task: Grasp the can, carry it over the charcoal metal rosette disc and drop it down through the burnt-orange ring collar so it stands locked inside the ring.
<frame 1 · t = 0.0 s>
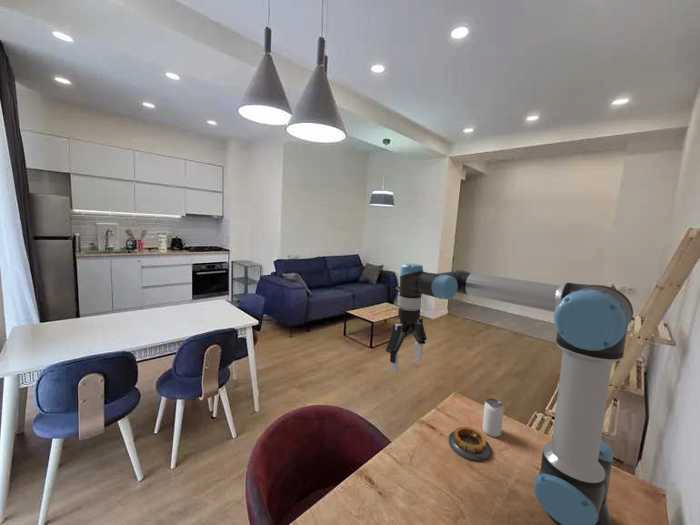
hand: (406, 365, 104), 28 cm above the table, fingers open, 13 cm apart
rosette: (469, 445, 104), on the table
can: (491, 432, 112), on the table
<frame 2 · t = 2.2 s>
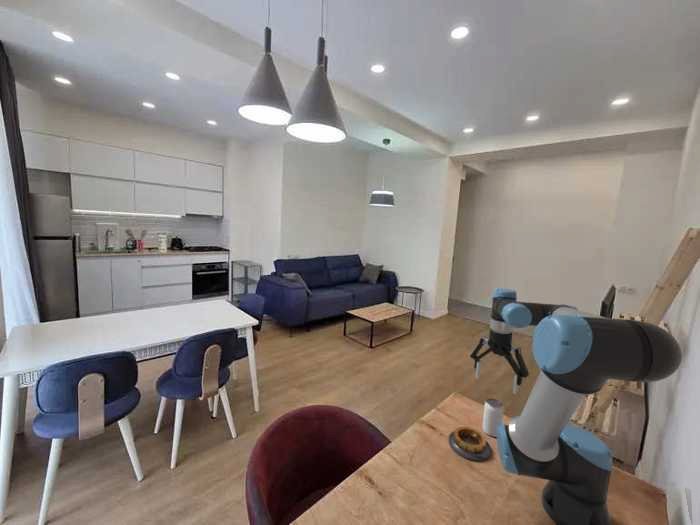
hand: (495, 384, 110), 19 cm above the table, fingers open, 13 cm apart
nothing on the table moved.
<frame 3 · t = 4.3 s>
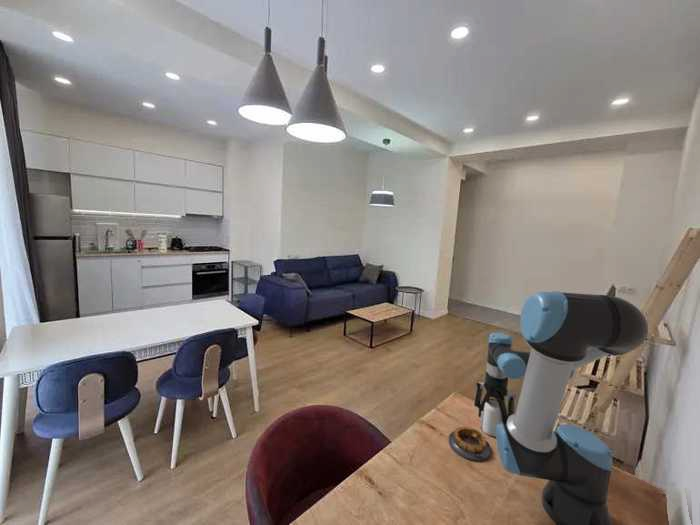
hand: (491, 430, 112), 0 cm above the table, fingers closed on can, 6 cm apart
can: (491, 432, 112), on the table, touching gripper
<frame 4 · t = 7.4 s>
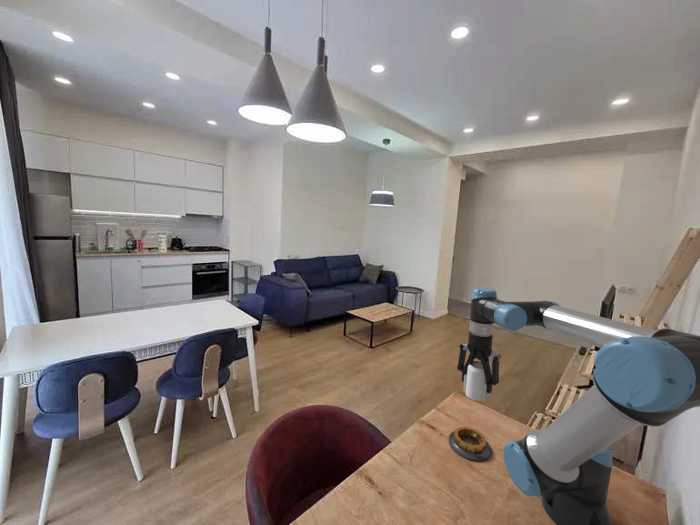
hand: (475, 395, 102), 19 cm above the table, fingers closed on can, 6 cm apart
can: (475, 397, 103), point 18 cm above the table, touching gripper
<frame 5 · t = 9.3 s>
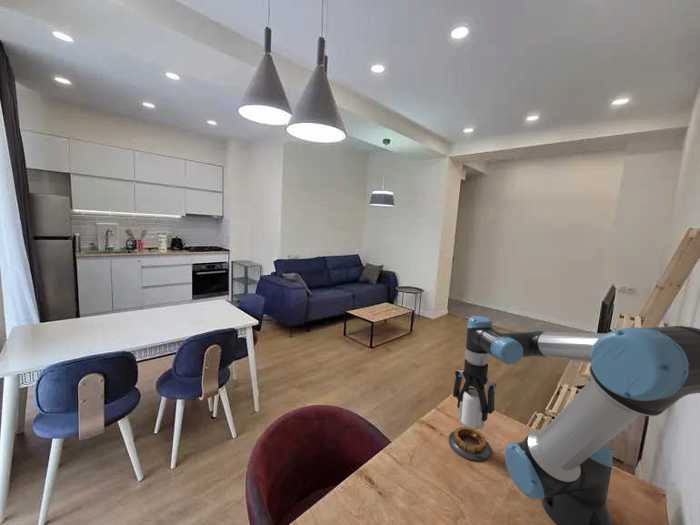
hand: (470, 422, 103), 9 cm above the table, fingers closed on can, 6 cm apart
can: (470, 424, 103), point 8 cm above the table, touching gripper
when the fingers open (6 cm above the table, at t = 10.7 s): can drops 4 cm, point 1 cm above the table.
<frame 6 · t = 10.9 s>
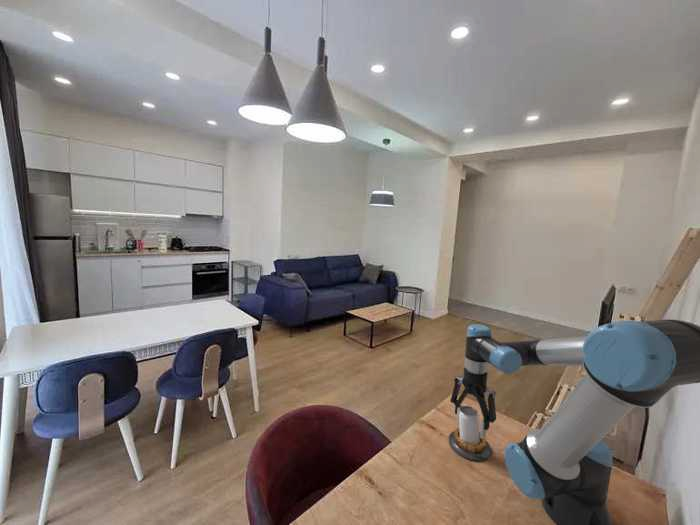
hand: (470, 429, 103), 6 cm above the table, fingers open, 8 cm apart
can: (469, 443, 104), point 1 cm above the table, touching gripper
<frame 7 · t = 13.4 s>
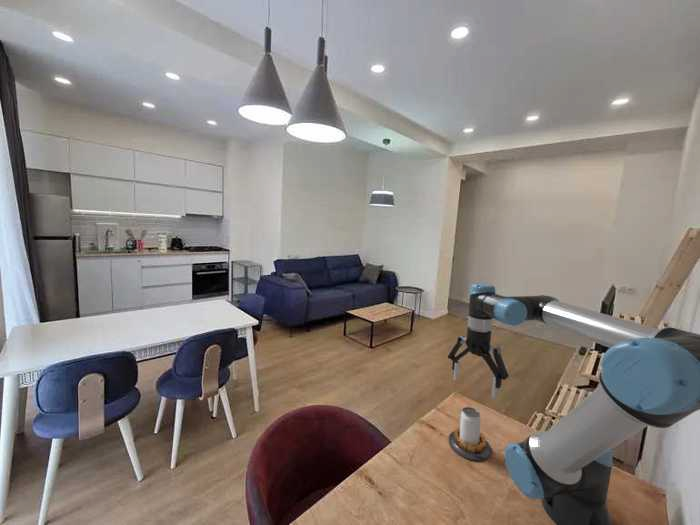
hand: (474, 387, 101), 22 cm above the table, fingers open, 13 cm apart
can: (468, 443, 104), point 1 cm above the table, touching rosette
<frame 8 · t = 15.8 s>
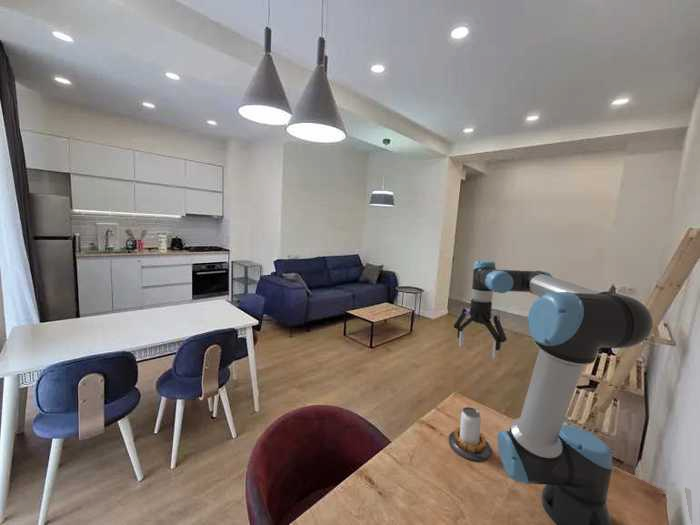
hand: (477, 351, 116), 29 cm above the table, fingers open, 13 cm apart
nothing on the table moved.
at the end: can 0.2 cm off-centre on the rosette, point 0.8 cm above the rosette's base; can tilted 0°; the gripper is holding nothing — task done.
